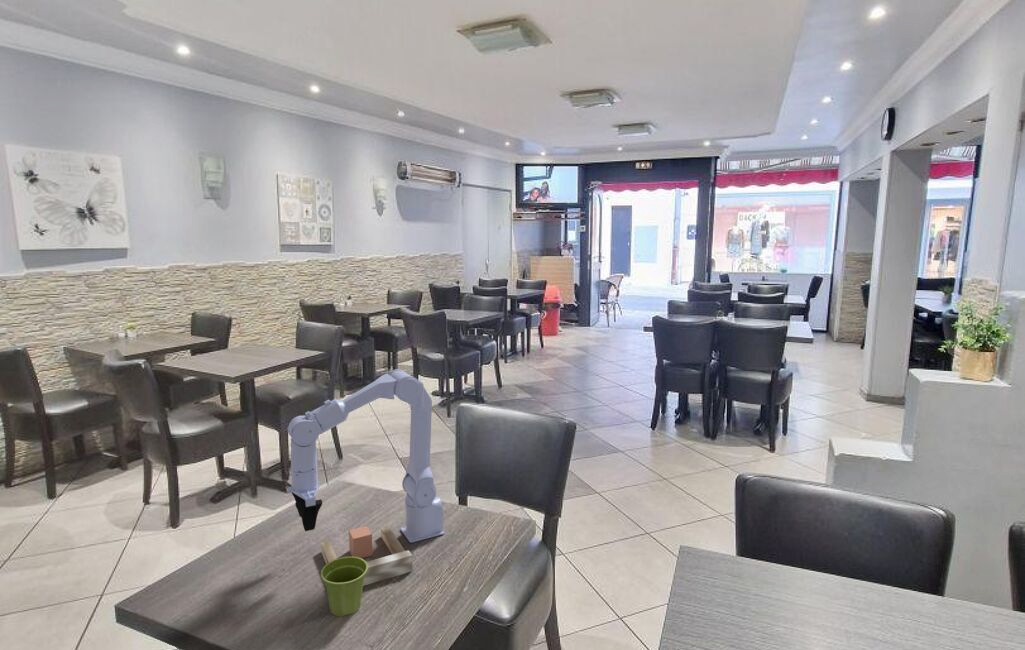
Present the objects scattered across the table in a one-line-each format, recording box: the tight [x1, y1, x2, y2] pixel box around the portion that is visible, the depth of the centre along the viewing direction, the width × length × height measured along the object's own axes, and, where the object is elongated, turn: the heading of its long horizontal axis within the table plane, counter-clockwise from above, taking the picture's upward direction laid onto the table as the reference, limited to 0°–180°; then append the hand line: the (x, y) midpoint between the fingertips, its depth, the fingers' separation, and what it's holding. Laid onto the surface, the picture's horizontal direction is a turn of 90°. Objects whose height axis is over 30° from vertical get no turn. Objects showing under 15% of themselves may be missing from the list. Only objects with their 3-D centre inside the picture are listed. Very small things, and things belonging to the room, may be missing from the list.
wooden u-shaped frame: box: [320, 525, 413, 587], centre depth 130 cm, size 17×18×4 cm
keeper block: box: [348, 525, 373, 559], centre depth 133 cm, size 4×4×6 cm
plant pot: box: [320, 556, 368, 617], centre depth 113 cm, size 9×9×9 cm
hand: (306, 522), depth 128 cm, fingers open, 7 cm apart
